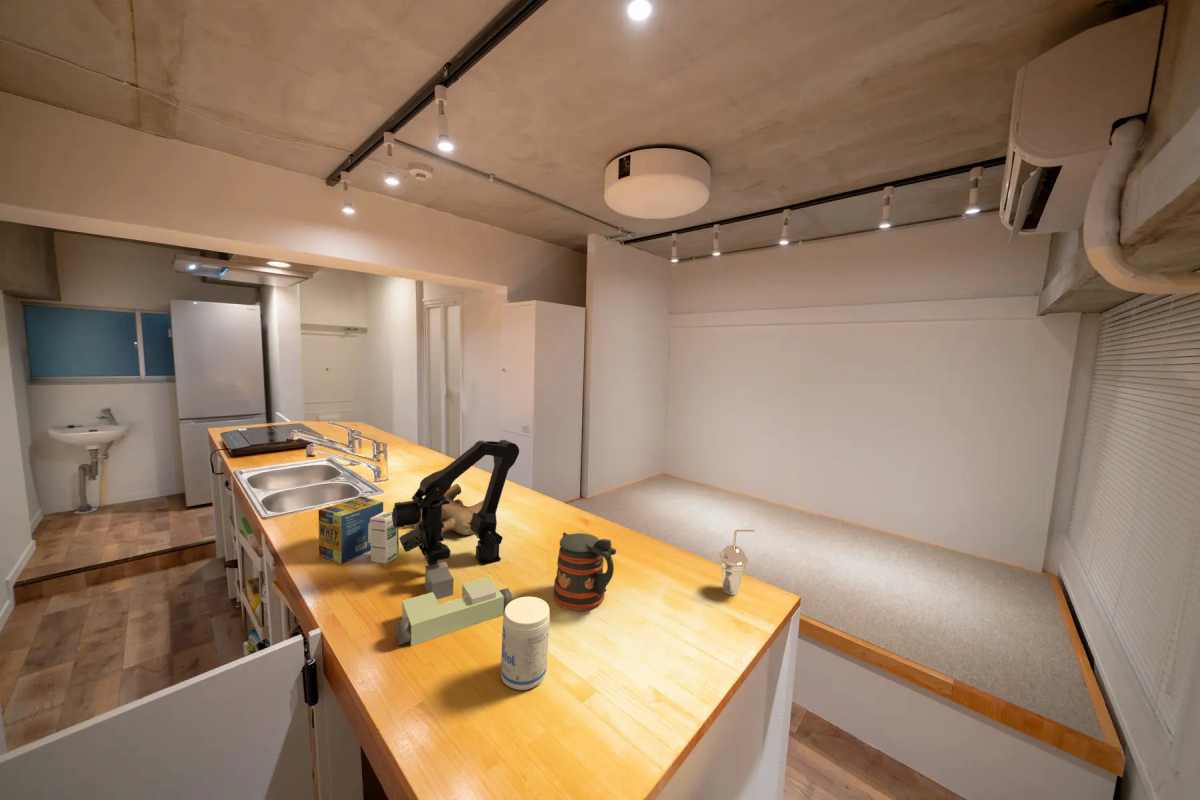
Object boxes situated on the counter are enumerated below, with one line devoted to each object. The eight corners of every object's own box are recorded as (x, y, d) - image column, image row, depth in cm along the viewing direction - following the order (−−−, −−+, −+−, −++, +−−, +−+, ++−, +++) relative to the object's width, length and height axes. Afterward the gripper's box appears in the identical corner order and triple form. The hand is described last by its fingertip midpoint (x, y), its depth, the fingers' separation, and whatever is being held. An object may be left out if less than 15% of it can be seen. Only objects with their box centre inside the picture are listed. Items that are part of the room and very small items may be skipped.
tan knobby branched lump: (453, 476, 172) (393, 497, 153) (500, 500, 154) (440, 528, 135) (454, 504, 175) (396, 528, 156) (501, 530, 157) (442, 561, 138)
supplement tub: (491, 674, 85) (493, 608, 84) (526, 651, 93) (529, 590, 91) (520, 701, 79) (523, 630, 78) (556, 674, 86) (559, 608, 85)
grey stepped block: (445, 581, 119) (445, 561, 118) (453, 595, 113) (453, 574, 112) (425, 587, 116) (425, 566, 115) (432, 601, 109) (432, 579, 109)
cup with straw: (724, 580, 128) (729, 518, 126) (752, 592, 122) (758, 528, 120) (710, 589, 122) (715, 525, 120) (738, 603, 116) (744, 535, 114)
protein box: (318, 557, 129) (317, 509, 127) (362, 538, 143) (362, 495, 142) (340, 564, 125) (340, 516, 124) (384, 544, 139) (384, 500, 138)
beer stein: (627, 601, 114) (632, 532, 112) (595, 626, 102) (600, 550, 100) (576, 576, 125) (579, 514, 123) (542, 597, 114) (545, 528, 112)
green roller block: (496, 591, 115) (496, 569, 115) (512, 611, 106) (512, 588, 106) (391, 622, 100) (391, 597, 99) (399, 649, 91) (399, 622, 90)
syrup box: (386, 564, 127) (386, 519, 125) (370, 561, 128) (369, 517, 126) (399, 556, 132) (399, 512, 131) (383, 553, 133) (383, 510, 132)
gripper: (396, 514, 123) (396, 563, 125) (408, 537, 108) (408, 593, 110) (434, 507, 130) (434, 554, 131) (451, 529, 114) (450, 582, 116)
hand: (431, 570), depth 122 cm, fingers closed
